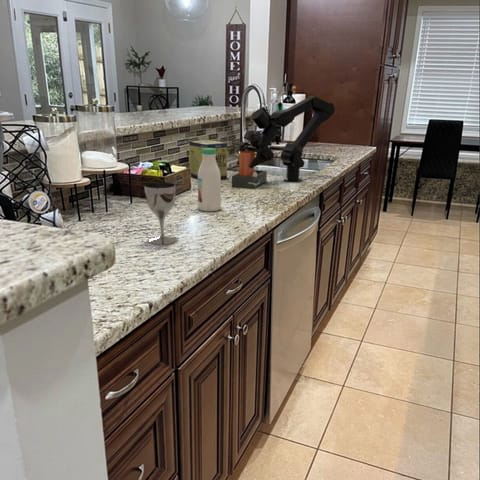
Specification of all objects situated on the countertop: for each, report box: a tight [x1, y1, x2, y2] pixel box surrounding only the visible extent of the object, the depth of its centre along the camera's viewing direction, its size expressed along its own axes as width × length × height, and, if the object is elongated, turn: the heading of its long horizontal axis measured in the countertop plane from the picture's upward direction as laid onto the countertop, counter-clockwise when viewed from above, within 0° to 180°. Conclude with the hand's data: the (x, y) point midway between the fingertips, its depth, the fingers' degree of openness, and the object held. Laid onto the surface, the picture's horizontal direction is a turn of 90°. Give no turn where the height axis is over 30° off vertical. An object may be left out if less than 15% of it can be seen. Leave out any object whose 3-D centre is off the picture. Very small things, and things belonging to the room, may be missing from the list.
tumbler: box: [238, 150, 256, 177], centre depth 208 cm, size 6×6×13 cm
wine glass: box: [144, 182, 177, 245], centre depth 134 cm, size 8×8×15 cm
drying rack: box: [231, 169, 268, 190], centre depth 214 cm, size 9×18×5 cm, turn 160°
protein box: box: [188, 139, 228, 181], centre depth 225 cm, size 10×16×16 cm
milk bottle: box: [197, 148, 222, 212], centre depth 168 cm, size 8×8×20 cm
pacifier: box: [248, 172, 260, 188], centre depth 208 cm, size 7×6×6 cm
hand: (243, 166), depth 207 cm, fingers open, 9 cm apart
